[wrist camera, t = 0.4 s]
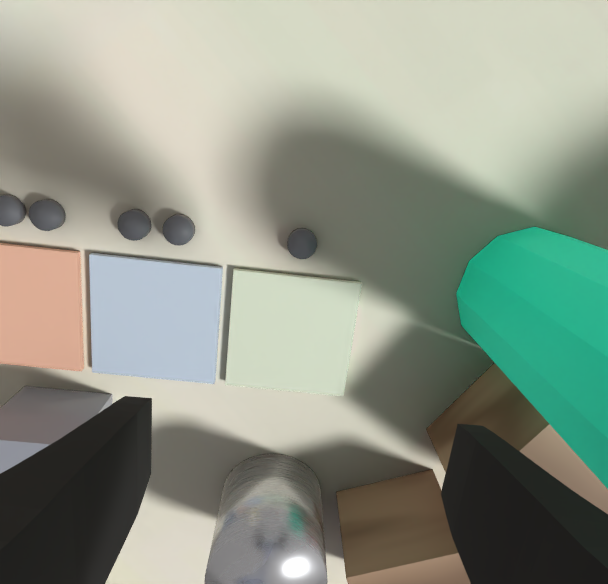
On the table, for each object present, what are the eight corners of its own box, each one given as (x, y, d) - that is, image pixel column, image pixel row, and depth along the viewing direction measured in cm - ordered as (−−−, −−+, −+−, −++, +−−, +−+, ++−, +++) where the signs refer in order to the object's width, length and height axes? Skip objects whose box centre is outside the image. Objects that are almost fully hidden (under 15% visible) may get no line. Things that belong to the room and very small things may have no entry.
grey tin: (314, 536, 25) (319, 631, 20) (220, 529, 24) (201, 623, 20) (327, 458, 23) (335, 540, 18) (226, 448, 23) (207, 530, 18)
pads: (343, 392, 22) (343, 398, 21) (-40, 356, 21) (-48, 361, 20) (368, 235, 20) (370, 238, 19) (-61, 186, 19) (-70, 188, 18)
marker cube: (113, 463, 23) (77, 527, 19) (31, 456, 23) (-22, 520, 19) (112, 393, 22) (74, 446, 18) (25, 384, 22) (-32, 437, 18)
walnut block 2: (495, 480, 24) (546, 565, 19) (425, 428, 23) (459, 504, 18) (570, 414, 23) (644, 486, 18) (500, 355, 22) (558, 416, 17)
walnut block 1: (448, 542, 25) (485, 637, 20) (358, 562, 25) (373, 660, 20) (431, 468, 23) (466, 550, 19) (335, 490, 24) (346, 578, 19)
